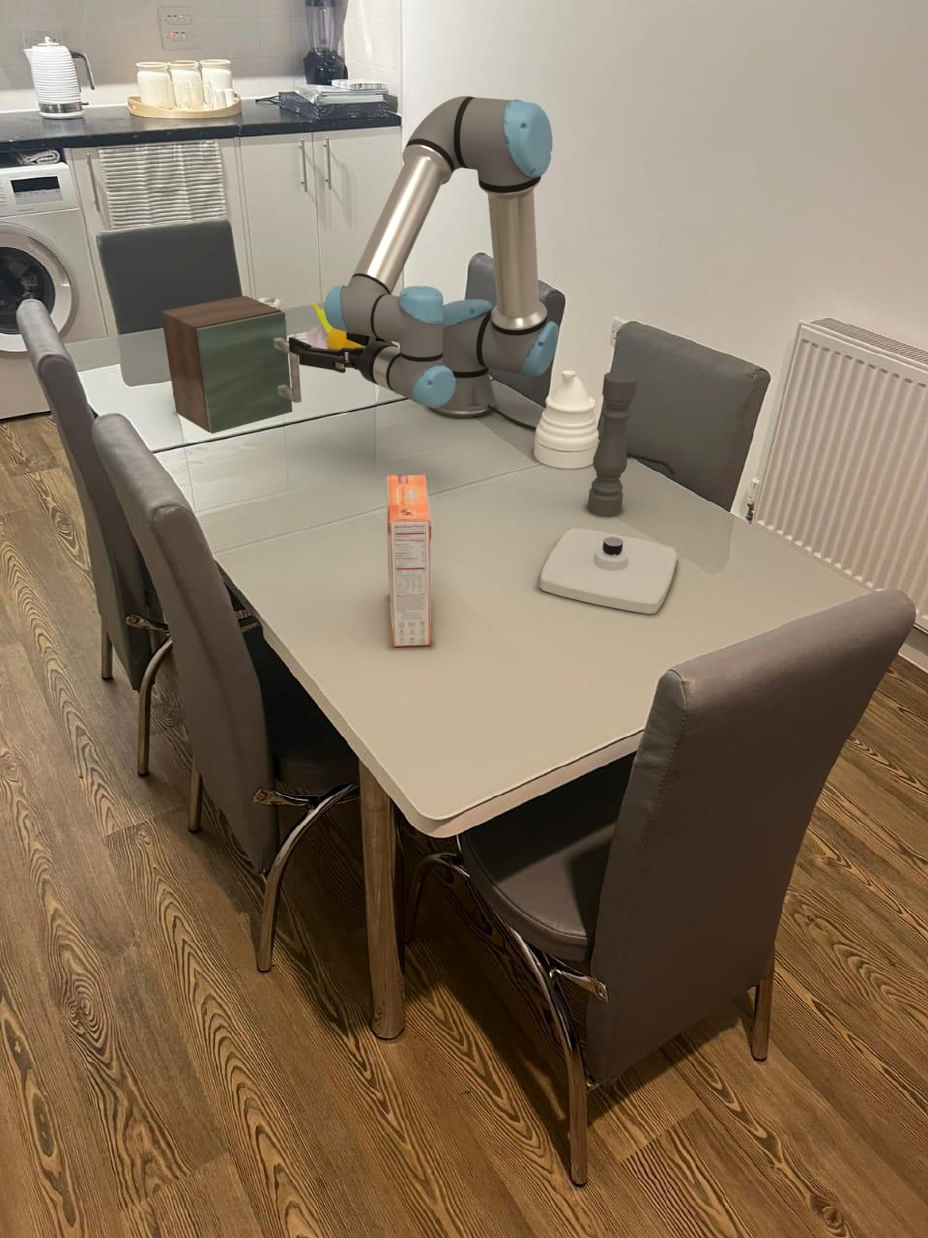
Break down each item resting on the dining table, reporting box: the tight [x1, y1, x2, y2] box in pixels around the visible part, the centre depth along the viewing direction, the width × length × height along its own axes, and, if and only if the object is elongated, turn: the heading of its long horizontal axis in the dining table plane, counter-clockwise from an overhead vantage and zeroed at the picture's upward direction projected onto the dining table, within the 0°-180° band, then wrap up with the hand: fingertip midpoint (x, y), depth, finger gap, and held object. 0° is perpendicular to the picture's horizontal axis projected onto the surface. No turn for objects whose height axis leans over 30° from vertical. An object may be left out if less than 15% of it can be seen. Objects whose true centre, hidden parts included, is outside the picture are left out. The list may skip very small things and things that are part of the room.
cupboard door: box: [196, 311, 302, 435], centre depth 193 cm, size 8×20×22 cm, turn 132°
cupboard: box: [160, 295, 281, 433], centre depth 200 cm, size 14×20×22 cm
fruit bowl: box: [304, 302, 400, 360], centre depth 235 cm, size 28×27×11 cm
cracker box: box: [386, 474, 432, 648], centre depth 134 cm, size 14×6×21 cm, turn 5°
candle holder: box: [587, 370, 638, 518], centre depth 165 cm, size 6×6×25 cm
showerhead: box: [539, 527, 678, 615], centre depth 151 cm, size 20×6×20 cm
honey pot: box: [533, 369, 600, 470], centre depth 187 cm, size 13×13×18 cm
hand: (319, 337), depth 184 cm, fingers open, 13 cm apart
